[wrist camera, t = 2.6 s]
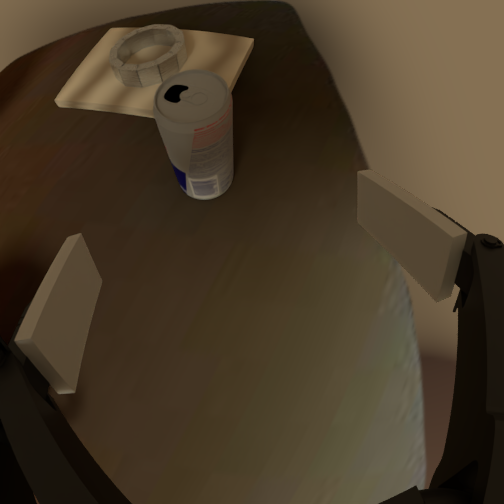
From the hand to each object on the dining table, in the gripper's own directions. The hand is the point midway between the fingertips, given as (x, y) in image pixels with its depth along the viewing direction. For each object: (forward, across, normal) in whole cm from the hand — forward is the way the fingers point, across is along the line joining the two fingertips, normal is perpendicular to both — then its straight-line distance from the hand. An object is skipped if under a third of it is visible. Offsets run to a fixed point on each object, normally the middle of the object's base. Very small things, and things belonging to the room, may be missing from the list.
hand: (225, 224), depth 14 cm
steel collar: (+28, -4, +10) cm, 30 cm away
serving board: (+29, -4, +9) cm, 31 cm away
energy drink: (+17, 0, -3) cm, 17 cm away
